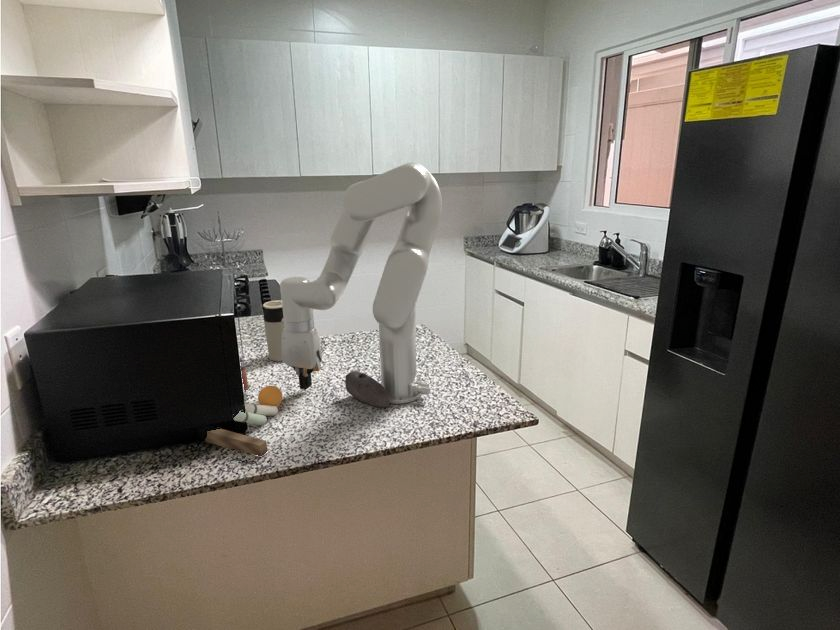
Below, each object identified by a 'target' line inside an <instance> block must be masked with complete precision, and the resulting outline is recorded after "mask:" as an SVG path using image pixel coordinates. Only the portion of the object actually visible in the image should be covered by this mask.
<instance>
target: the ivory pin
mask: <svg viewBox="0 0 840 630" xmlns="http://www.w3.org/2000/svg"><path fill="white" fill-rule="evenodd" d="M244 405H245V408H246V412H249V413H254V414H259V415H264V416H269V417H270V416H271V417H272V416H273V417H274V416H277V414H278V410H279V408H278V407H276V406H268V405H260V404H254V403H245V404H244Z"/></svg>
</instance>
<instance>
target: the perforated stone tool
mask: <svg viewBox="0 0 840 630" xmlns="http://www.w3.org/2000/svg"><path fill="white" fill-rule="evenodd" d="M344 384H345V390H346V392H347V393H349V395H350V396H352V397H353V398H355V399H357V400H358V401H361V402H363V403H365V404H368V405H370V406H373V407H378V408H386V407H388V406H389V405H390V404H391V403H390V397H389V394H388V392H387V391H386V389H385V388H384V387H383V386H382V385H381V382H379V381H377V380H376V379H374V378H373V377H372V376H370V375H368V374H366V373H363V372H361V371H359V370H353V371H350V372H349V373H347V374H346V375H345V382H344Z"/></svg>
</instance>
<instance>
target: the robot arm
mask: <svg viewBox="0 0 840 630" xmlns="http://www.w3.org/2000/svg"><path fill="white" fill-rule="evenodd" d="M403 208H406V211H405V214H404V218H403V220H402V224H401V228H400V231H399V234H398V237H397V240H396V242H395V245H394V246H393V248H392V250H391V251H390V253H389V256H388V257H387V259H386V262H385V265H384V267H383V268H384V269H383V271H382V275H381V277H380V280H379V284H378V287H377V290H376V293H375V297H374V299H373V303H372V314H373V315H372V316H373V318H374V320H375V322H376V323H377V324H378V339H379V340H378V342H379V359H380V360H379V361H380V362H379V363H380V381H381V382H380V384H381V385H382V386H383V387H384V388H385V389H386V391H387V392H388V394H389V397H390V404H396V405H397V404H398V405H400V404H401V405H402V404H407V403H411V402H414V401H417V400H418V399H419V398H420V397H421V396H422V395H426V396H430V393H431V388H430V384H429V383H426V382H424V383H423V382H422V381H421V376H419V375H417V347H416V346H417V344H416V343H417V337H416V336H417V335H416V334H417V333H416V329H417V328H416V327H417V326H416V311H417V310H416V308H417V305H416V303H417V301H418V298H419V296H420V293H421V290H422V288H423V284H424V282H425V278H426V275H427V271H428V268H429V267H428V266H429V258H430V254H431V251H432V247H433V244H434V242H435V238H436V235H437V232H438V228H439V226H440V225H439V224H440V221H441V219H442V218H441V217H442V211H443V199H442V192H441V189H440V187H439V184H438V182H437V180H436V179H435V177H434V176H433V175H432V174H431V172H430V171H429V170H428V169H427V168H426V167H425V166H424V165H422V164H420V163H417V162H412V161H411V162H406V163H403V164H401V165H399V166H397V167H395V168H392V169H389V170H387V171H385V172H383V173H380V174H377V175H375V176H373V177H370V178H368V179H366V180H362V181H358V182H356V183H353V184H351V185H350V186H349V187H347V189H346V190H345V192H344V193H343V196H342V209H341V212H340V214H339V216H338V219H337V221H336V223H335V225H334V227H333V230H332V233H331V235H330V239H329V240H330V250H329V254H328V257H327V259H326V262H325V264H324V266H323V269H322V271H321V273H320V275H319V276H317V278H316V280H313V281H310V280H309V278H306V277H303V276H291V277H287V278H284V279H283V280H281V282H280V284H279V287H280V288H279V289H280V299H281V300H282V308H283V317H284V318H282V323H284V325H285V328H284V329H283V331H282V341H281V346H282V359H283V361H282V363H284V365H286V366H288V367H290V368H292V369H293V371H295V375H296V376H298V384H299V389H300V390H304V391H306V390H307V389H309V388H310V387H312V385H313V381H312V373H313V372H320V370H322V365H321V363H322V361H323V360H322V359H323V356H322V348H321V342H320V337H319V334H318V331H317V328H315V320H314V311H313V310H319V311H326V310H329V309H332V308H333V307H334V306H335V305H336V304H337V302H338V301H339V299H340V297H342V295H343V294H344V292H345V290H346V288H347V286H348V284H349V281H350V279H351V277H352V275H353V272H354V270H355V268H356V265H357V263H358V260H359V259H360V258H361V256H362V254H363V251H364V249H365V246H366V245H367V242H368V240H369V238H370V235H371V233H372V231H373V229H374V226H375V225H376V223H377V221H378V218H381V217H383V216H385V215H387V214H391V213H392V212H393V213H394V212H396V211H397V210H401V209H403Z"/></svg>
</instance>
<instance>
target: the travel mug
mask: <svg viewBox="0 0 840 630" xmlns="http://www.w3.org/2000/svg"><path fill="white" fill-rule="evenodd" d="M262 307H263V308H264V312H263V323H264V330H265V337H266V339H265V340H266V344H267V345H266V346H267V354H268V359H269V360H270V361H274V362H283V359H282V346H281V341H282V331H283V329H284V328H285V325H284V323H282V318H284V317H283V308H282V299H281V300H280V299H279V300H269V301H266V302H265V303H263V304H262Z"/></svg>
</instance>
